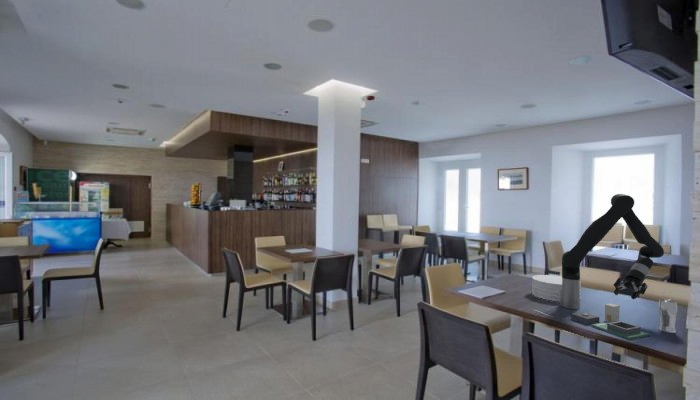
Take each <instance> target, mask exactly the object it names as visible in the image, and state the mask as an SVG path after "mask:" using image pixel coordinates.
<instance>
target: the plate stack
mask: <svg viewBox="0 0 700 400" xmlns="http://www.w3.org/2000/svg"><path fill="white" fill-rule="evenodd" d="M531 279H532V281H531V287H532V288H531V295H532V294H533V295H535V296H537V297H540V298H543V299H547V300H546V301H548V300H553V301H559V302H558V303H560V290H561V289H562V275H554V274H552V275H551V274H536V275H532V277H531ZM581 285H582V282H581V281H580V301H581V295H582V291H581V289H582V286H581ZM533 295H532V296H533ZM535 296H534V297H535ZM537 297H536V298H537ZM540 298H539V299H540ZM543 299H542V300H543ZM553 301H552V302H553Z"/></svg>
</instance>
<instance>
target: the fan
mask: <svg viewBox="0 0 700 400" xmlns="http://www.w3.org/2000/svg"><path fill="white" fill-rule="evenodd" d="M570 319H571V320H573V321H576V322H578V323H580V324H584V325H588V326H589V325H591V324H597V323H600V316H598V315H595V314H592V313H589V312H585V311H579V312H573V313H570Z"/></svg>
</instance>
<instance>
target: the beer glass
mask: <svg viewBox="0 0 700 400" xmlns="http://www.w3.org/2000/svg"><path fill="white" fill-rule="evenodd" d="M658 300H659V301H658V314H659V320H660V325H659V327H658V328H659V329H658V330H660V331H661V332H663V333H669V334H676V332H677V331H676V325H675V324H676V320H677V316H678V302H677V301H676V300H673V299H668V298H659V299H658Z"/></svg>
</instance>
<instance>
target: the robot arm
mask: <svg viewBox="0 0 700 400" xmlns="http://www.w3.org/2000/svg"><path fill="white" fill-rule="evenodd" d="M610 205H611V206H610V208H609V209H608V210H607V211H606V212H605V213H604V214H603V215H601V216H599V217H598V218H597V219H595V220H594V221H593V222H592V223H590V225H588V226H587V228H586V229H585V230H584V232H583V233H582V235H581V237H580V238H579V240H578V241H577V243H576V244H575V245H574V246H573V247H572V248H571V249H570V250H567V251H565V252H563V255H562V257H561V276H562V289H561V290H560V302H559V305H560V306H561V307H563V308H566V309H569V310H570V309H571V310H579V309H581V307H580V305H581V304H580V303H581V300H580V298H581V297H580V294H581V293H580V290H581V289H580V286H581V285H580V282H581V264H582V261H583V260H584V259H585V257H586V256H587V255H588V253H589V252H591V250H593V249H594V248H595V247H596V246H598V244H599V243H600V242H601V241H602V240H603V239H604V238H605V236H607V235H608V233H610V230H612V229H613V227H615V226H616V224H617V223H618V222H619V221H620V220H621V219H623V221H624V223H625V224H626V226H627V227H628V228H629V231H630V232H631V234H632V236H633V237H634V239H635V240H636V242H637V243H638V244H640V245H643V246H641V247H640V249H639V251H638V255H637V256H638V257H637V260H636V261H635V263H634V264H633V265H632V266H631V268H630V269H629V271H628V273H627V274H626V277H625V278H624V279H622V278H621V277H618V278H617V279H616V281H615V282H614V283H613V287H614V291H613V294H614V295H615V296H618V295H619V293H620V292H621V290H624V289H630V290H634V291H633V292H632V294H631V296H630V298H631V299H632V300H635V299H637V298H638V296H639V295H643V296H644V294H645V293H646V291H647V289H648V286H649V285H648V284H647V283H646V282H645V280H646V277H647V276H648V275H649V272H650V270H651V268H653V266H654V261H653V260H652V258H653V259H654V258H655V259H656V258H663V256H664V254H665V250H664V248H663V246H662V245H661V244H660V243H659V242H658V241H657V240H656V239H655V238H654V237H653V236H652V235H651V233H650V232H649V230H648V228H647V227H646V226H645V225H644V223H643V221H641V220H640V219H639V217H638V216H637V214H636V213H635V211H634V210H633V208H634V205H635V199H634V198H633V197H632V196H631V195H629V194H624V193H617V194H615V195H613V196H612V197H611V199H610ZM639 288H640V289H639Z"/></svg>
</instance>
